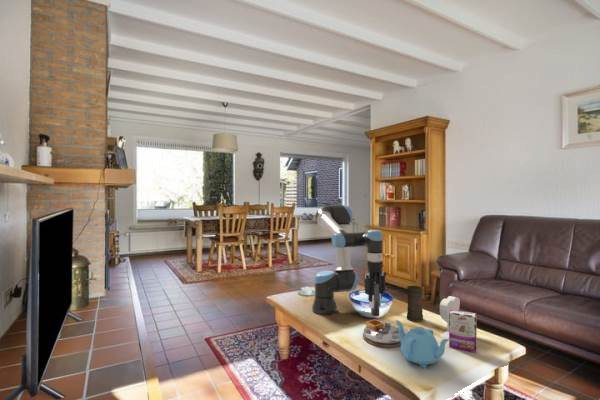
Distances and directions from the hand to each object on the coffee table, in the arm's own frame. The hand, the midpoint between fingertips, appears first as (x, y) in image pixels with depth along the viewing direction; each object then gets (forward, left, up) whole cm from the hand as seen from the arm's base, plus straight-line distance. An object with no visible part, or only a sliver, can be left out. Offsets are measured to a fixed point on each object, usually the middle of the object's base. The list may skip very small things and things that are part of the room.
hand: (375, 306), depth 166 cm
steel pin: (0, 0, -4) cm, 4 cm away
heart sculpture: (+19, +33, -14) cm, 41 cm away
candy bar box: (+32, +24, -14) cm, 42 cm away
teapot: (+30, -2, -14) cm, 33 cm away
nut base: (+6, 0, -14) cm, 15 cm away
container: (-3, +33, -14) cm, 36 cm away
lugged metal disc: (+6, 0, -13) cm, 14 cm away
